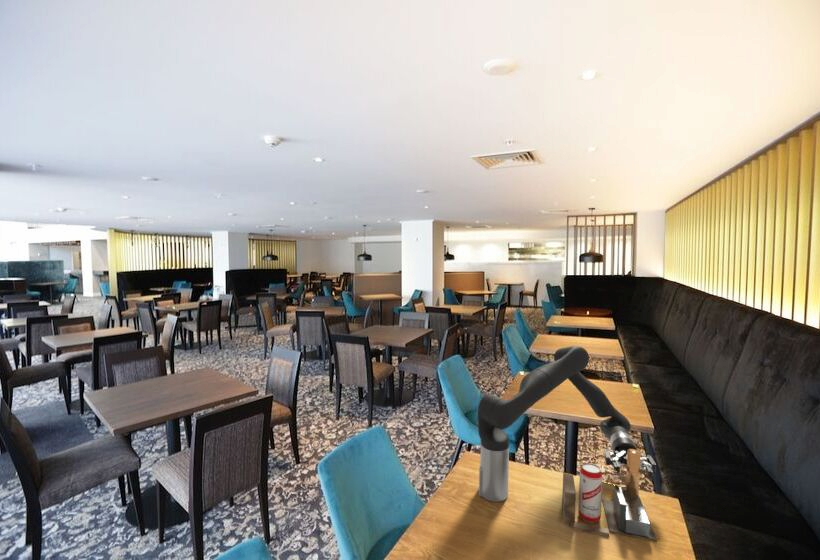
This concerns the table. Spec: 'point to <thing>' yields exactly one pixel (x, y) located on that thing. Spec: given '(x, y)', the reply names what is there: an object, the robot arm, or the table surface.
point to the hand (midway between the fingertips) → (634, 472)
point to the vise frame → (569, 518)
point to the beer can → (590, 493)
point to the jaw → (631, 500)
